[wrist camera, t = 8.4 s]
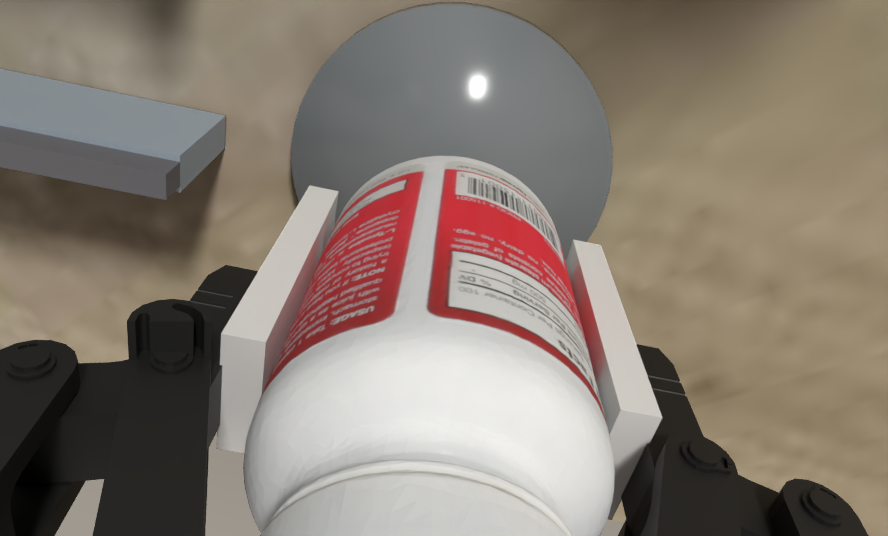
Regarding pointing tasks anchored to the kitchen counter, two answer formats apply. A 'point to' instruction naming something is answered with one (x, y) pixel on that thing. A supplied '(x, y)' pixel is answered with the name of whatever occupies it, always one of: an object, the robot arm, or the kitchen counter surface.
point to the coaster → (458, 109)
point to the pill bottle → (434, 373)
